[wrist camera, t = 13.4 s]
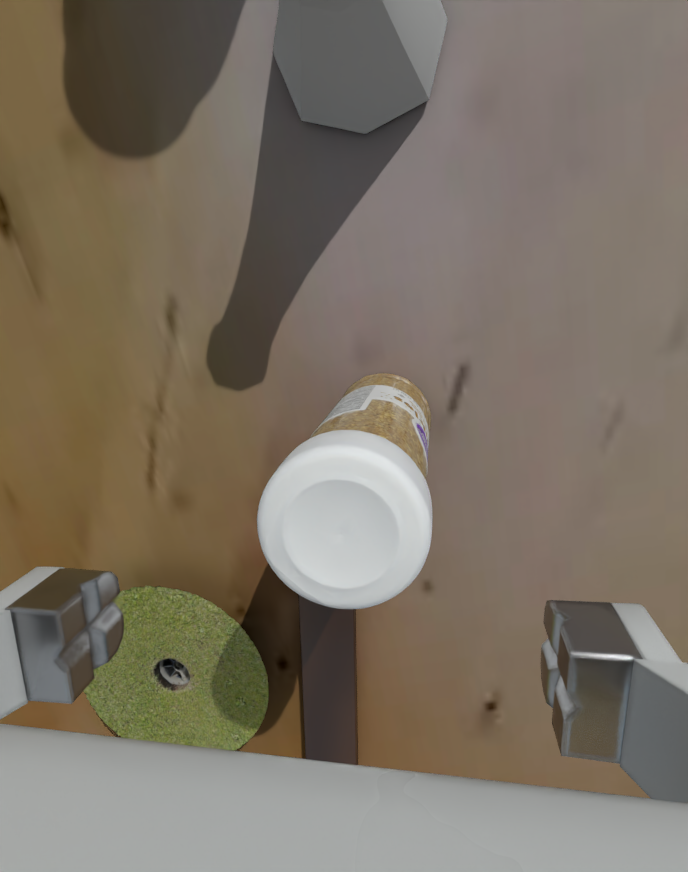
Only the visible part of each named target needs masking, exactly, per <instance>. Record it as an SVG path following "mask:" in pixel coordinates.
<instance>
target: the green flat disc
mask: <svg viewBox="0 0 688 872" xmlns="http://www.w3.org/2000/svg"><path fill="white" fill-rule="evenodd" d="M114 603H115V604H116V605H117V606H118V608H119V609H120V610H121V611H122V613H123V618H124V632H123V638H122V641H121V643H120V646H119V648H118V651H117V653H116V654H115V655H114V656H113V657H112V659H111V660H110V661H109V662H108V663H106V664H104V665H102V666H100V667H98V668H96V669H94V679H93V680H92V682H91V683H90V684H89V685H88V686H87V687H86V688H85V689H84V691H83V692H84V693H85V694H86V695H87V698H86V699H88V700H89V701H90V705H91V706H92V707H93V708H94V709H95V711H96V712H97V714H98V715H99V717H100V718H101V719H102V720H103V721H104V722H105V723H106V724H107V725H108V726H109V727H110V728H111V729H112V730H114V731H115V732H116V733H117V736H118V735H121V737H122V738H128V739H137V740H146V741H154V742H163V743H172V744H180V745H189V746H198V747H206V748H215V749H224V750H232V751H234V750H237V749H238V748H240V747H241V746H242V745H244V744H245V743H246V742H248V740H249V739H250V738H251V737H253V735H254V733H256V731H257V730H258V728H259V727H260V725H261V723H262V721H263V719H264V716H265V713H266V710H267V706H268V697H269V692H268V675H267V673H266V670H265V666H264V664H263V661H262V660H261V657H260V654H259V653H258V650H257V649H256V647H255V645H254V644H253V642H252V641H251V640H250V638H249V636H248V635H247V634H246V632H245V631H244V630H243V629H242V627H241V626H240V625H239V624H238V623H237V622H236V621H235V620H234V619H233V618H231V617H230V616H229V615H228V614H227V613H226V612H224V611H223V610H222V609H221V608H218V607H217V606H216V605H215V604H213V603H212V602H210V601H207V600H205V599H203V598H202V597H200V596H198V595H196V594H194V595H191V593H189V592H185V591H181V590H179V589H170V588H165V587H163V588H162V587H160V586H157V587H152V586H145V587H133V588H131V589H129V590H123V591H121V592H120V594H119V595H118V597H117V598H116V600H115V602H114Z"/></svg>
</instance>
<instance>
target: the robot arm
mask: <svg viewBox="0 0 688 872" xmlns="http://www.w3.org/2000/svg"><path fill="white" fill-rule="evenodd" d="M119 594H120V590H119V584H118V578H117V577H116V576H115V575H114V574H113V573H112V572H109V571H97V570H86V569H74V568H64V567H36V568H35V569H33V570H32V571H30V572H29V573H27V574H26V575H24V576H23V577H21V578H20V579H18V580H17V581H15V582H14V583H12V584H11V585H10V586H8V587H7V588H5V589H4V590H2V591H1V592H0V719H2V718H3V717H5V716H7V715H8V714H10V713H12V712H13V711H15V710H17V709H18V708H20V707H22V706H23V705H25V704H27V703H28V700H29V701H43V702H56V703H70V704H72V703H73V702H74V701H75V700H76V698H77V697H78V696H79V695H80V694H81V693H82V692H83V691H84V689H85V688H86V687H87V686H88V685H89V684H90V683H91V682H92V680H93V679H94V669H96V668H98V667H100V666H102V665H104V664H106V663H108V662H109V661H110V660H111V659H112V657H113V656H114V655H115V654H116V653H117V651H118V648H119V646H120V643H121V641H122V638H123V632H124V618H123V613H122V611H121V610H120V609H119V608H118V606H117V605H116V604H115V603H114V602H115V600H116V598H117V597H118V595H119ZM544 626H545V629H546V632H547V635H548V639H547V640H546V641H545V642H544V643H543V644H542V648H541V680H542V686H543V692H544V696H545V700H546V703H547V704H549V705H550V706H551V707H552V708H553V716H552V725H553V728H554V732H555V735H556V739H557V742H558V746H559V749H560V753H561V756H567V757H574V758H582V759H589V760H597V761H604V762H612V763H619V764H620V767H621V768H622V769H623V770H624V771H625V772H626V773H627V774H628V775H629V776H630V777H631V778H632V779H633V780H634V781H635V782H636V783H637V784H638V785H639V786H640V787H641V789H642V790H643V791H644V792H645V793H646V794H647V795H648V796H649V797H650V798H651V799H649V798H641V797H632V796H623V795H615V794H606V793H598V792H589V791H580V790H572V789H563V788H554V787H546V786H537V785H528V784H519V783H511V782H502V781H493V780H485V779H476V778H467V777H459V776H450V775H441V774H432V773H424V772H415V771H406V770H398V769H389V768H380V767H371V766H363V765H354V764H345V763H337V762H328V761H319V760H311V759H302V758H293V757H284V756H276V755H267V754H258V753H250V752H241V751H232V750H224V749H215V748H206V747H198V746H189V745H180V744H172V743H163V742H154V741H146V740H137V739H128V738H120V737H111V736H102V735H94V734H85V733H76V732H68V731H59V730H50V729H42V728H33V727H24V726H16V725H7V724H0V872H688V663H682V661H681V660H680V658H679V657H678V655H677V654H676V653H675V651H674V650H673V648H672V647H671V645H670V644H669V642H668V641H667V640H666V638H665V637H664V635H663V634H662V632H661V631H660V629H659V628H658V627H657V625H656V624H655V622H654V621H653V619H652V618H651V616H650V615H649V613H648V612H647V611H646V609H645V608H644V606H642V605H640V604H635V603H607V602H582V601H557V600H549V601H547V602H546V606H545V612H544Z"/></svg>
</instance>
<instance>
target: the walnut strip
mask: <svg viewBox="0 0 688 872" xmlns="http://www.w3.org/2000/svg"><path fill="white" fill-rule="evenodd" d="M298 597H299V620H300V642H301V664H302V686H303V708H304V730H305V752H306V759H311V760H319V761H328V762H337V763H345V764H354V765H358V733H357V670H356V609H337V608H332V607H327V606H323V605H320V604H317V603H315V602H312V601H310V600H308V599H306V598H304V597H302V596H300V595H299V594H298Z"/></svg>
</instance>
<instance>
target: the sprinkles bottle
mask: <svg viewBox="0 0 688 872" xmlns="http://www.w3.org/2000/svg"><path fill="white" fill-rule="evenodd" d="M430 425H431V413H430V409H429V405H428V402H427V400H426V399H425V397H424V395H423V394H422V392H421V391H420V390H419V389H418V388H417V387H416V386H415V385H414V384H412V383H411V382H410V381H409V380H407V379H405V378H403V377H400V376H397V375H394V374H385V373H382V374H374V375H369V376H365V377H364V378H362V379H361V380H359V381H357V382H355V383H354V384H353V385H352V386H351V387H350V388H349V389H348V390H347V391H346V392H345V394H344V396H343V397H342V399H341V400H340V402H339V403H338V404H337V405H336V406H335V407H334V409H333V410H332V411H331V412H330V413H329V415H328V416H327V417H326V418H325V420H324V421H323V422H322V423H321V424H320V426H319V427H318V428H317V429H316V430H315V431H314V433H313V434H312V435H311V437H310V439H308V440H307V441H305V442H303V443H302V444H301V445H299V446H298V447H297V448H296V449H294V450H293V451H292V452H291V453H290V454H289V455H288V457H287V458H286V459H285V460H284V461H283V462H282V464H281V465H280V466H279V467H278V469H277V470H276V472H275V473H274V474H273V476H272V477H271V478H270V480H269V482H268V483H267V485H266V487H265V489H264V491H263V494H262V497H261V499H260V503H259V508H258V515H257V528H258V536H259V540H260V544H261V548H262V551H263V553H264V555H265V557H266V559H267V561H268V563H269V565H270V566H271V568H272V570H273V571H274V572H275V573H276V575H277V576H278V577H279V578H280V579H281V580H282V581H283V582H284V583H285V584H286V585H287V586H288V587H289V588H291V589H292V590H293V591H294V592H296V593H297V594H299V595H300V596H302V597H304V598H306V599H308V600H310V601H312V602H315V603H317V604H320V605H323V606H327V607H332V608H337V609H362V608H367V607H372V606H375V605H378V604H381V603H383V602H385V601H387V600H390V599H391V598H393V597H395V596H396V595H398V594H399V593H401V592H402V591H403V590H404V589H405V588H407V587H408V586H409V585H410V584H411V583H412V582H413V580H414V579H415V578H416V577H417V575H418V574H419V572H420V571H421V569H422V567H423V565H424V563H425V561H426V558H427V555H428V552H429V549H430V543H431V535H432V501H431V496H430V491H429V488H428V486H427V483H426V480H425V479H426V476H427V468H428V446H429V431H430Z"/></svg>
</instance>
